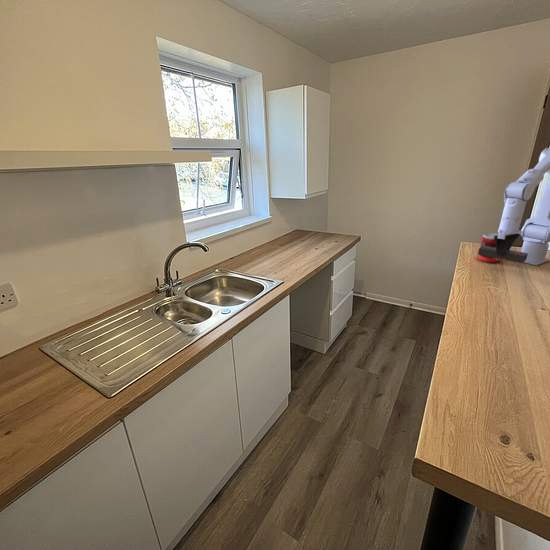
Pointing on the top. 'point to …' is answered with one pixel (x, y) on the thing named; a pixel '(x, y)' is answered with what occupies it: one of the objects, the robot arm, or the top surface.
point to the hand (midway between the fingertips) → (502, 253)
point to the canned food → (489, 241)
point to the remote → (508, 255)
